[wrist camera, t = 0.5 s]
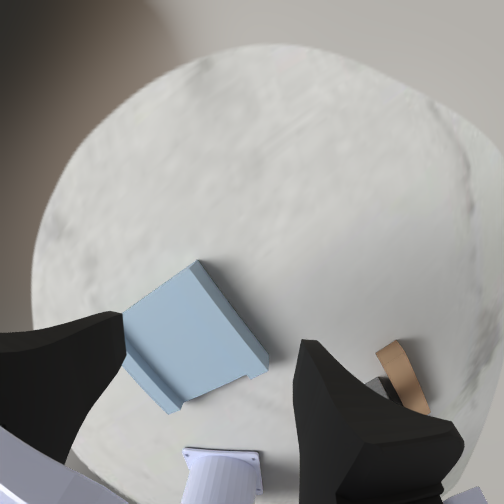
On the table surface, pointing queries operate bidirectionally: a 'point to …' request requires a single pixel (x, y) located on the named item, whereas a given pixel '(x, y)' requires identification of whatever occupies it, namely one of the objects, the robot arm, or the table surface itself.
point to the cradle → (188, 340)
